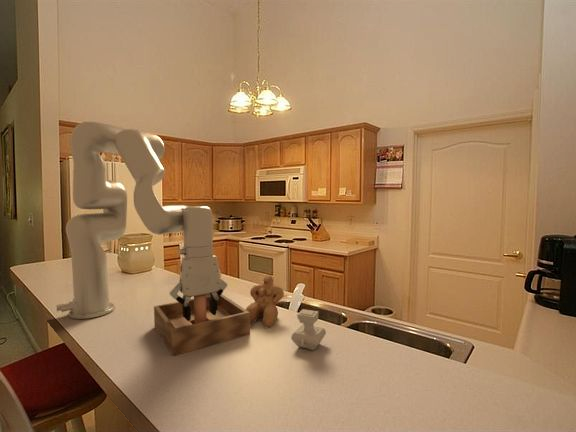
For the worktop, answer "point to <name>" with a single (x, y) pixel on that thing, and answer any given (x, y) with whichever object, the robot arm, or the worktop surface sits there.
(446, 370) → the worktop surface
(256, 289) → the figurine
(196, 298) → the peg
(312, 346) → the stamp
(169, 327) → the bore box
